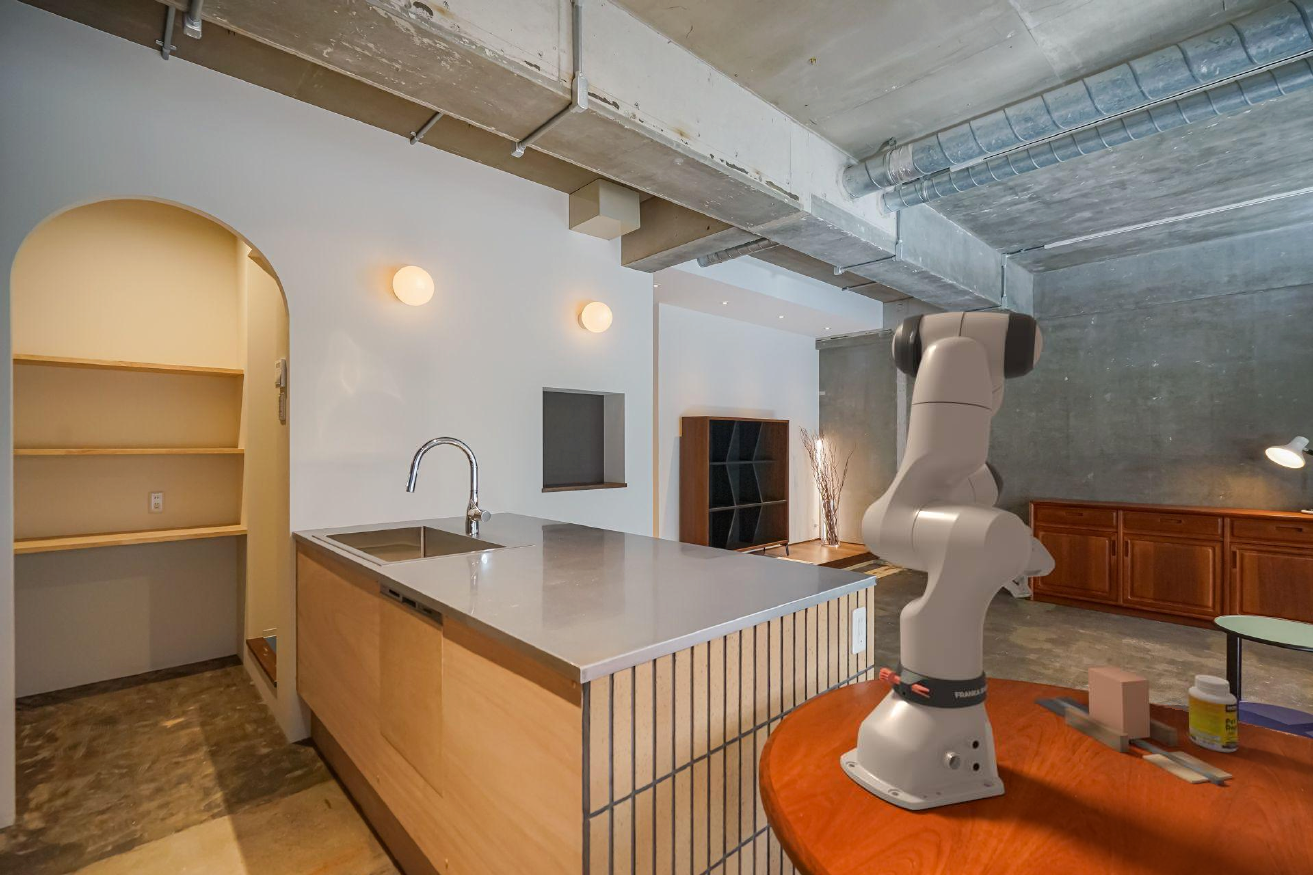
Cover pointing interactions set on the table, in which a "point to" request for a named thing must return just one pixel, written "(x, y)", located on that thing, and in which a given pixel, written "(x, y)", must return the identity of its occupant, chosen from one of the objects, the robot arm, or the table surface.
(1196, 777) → the mat
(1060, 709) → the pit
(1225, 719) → the supplement bottle
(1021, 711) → the table surface
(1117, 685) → the block
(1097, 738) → the track
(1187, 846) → the table surface
